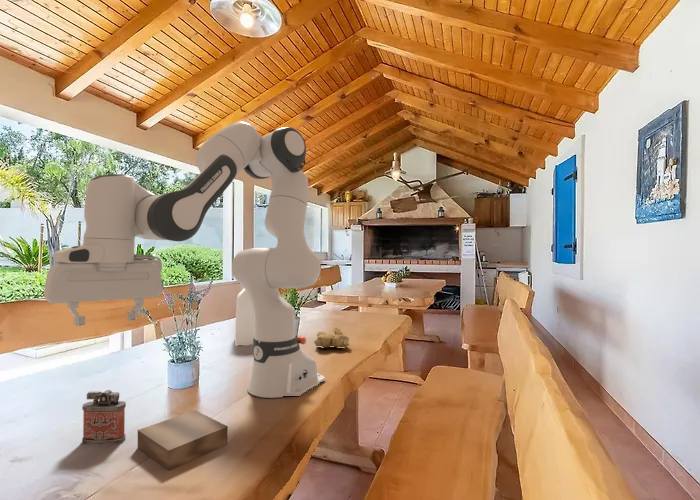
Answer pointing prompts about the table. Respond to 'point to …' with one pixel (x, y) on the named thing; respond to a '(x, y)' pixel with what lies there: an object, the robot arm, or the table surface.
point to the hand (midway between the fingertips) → (107, 322)
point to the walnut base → (182, 438)
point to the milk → (244, 320)
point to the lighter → (103, 419)
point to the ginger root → (332, 339)
